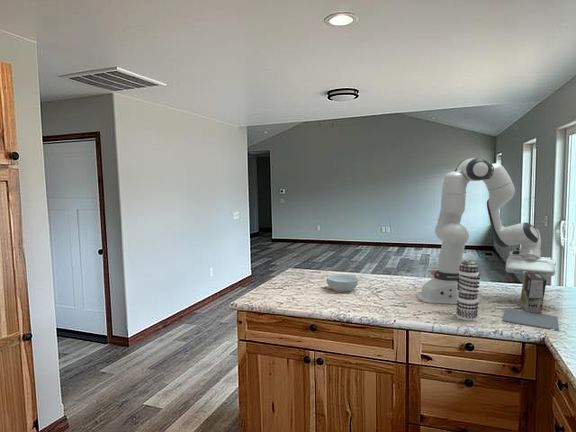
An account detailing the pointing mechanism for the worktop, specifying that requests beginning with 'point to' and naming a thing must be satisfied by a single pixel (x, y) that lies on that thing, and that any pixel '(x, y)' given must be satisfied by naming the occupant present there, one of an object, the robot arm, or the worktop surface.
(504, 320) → the rubber mat
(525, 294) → the coffee box
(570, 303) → the worktop surface
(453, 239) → the robot arm
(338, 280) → the cereal bowl
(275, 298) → the worktop surface
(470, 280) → the decorative candle
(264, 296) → the worktop surface
